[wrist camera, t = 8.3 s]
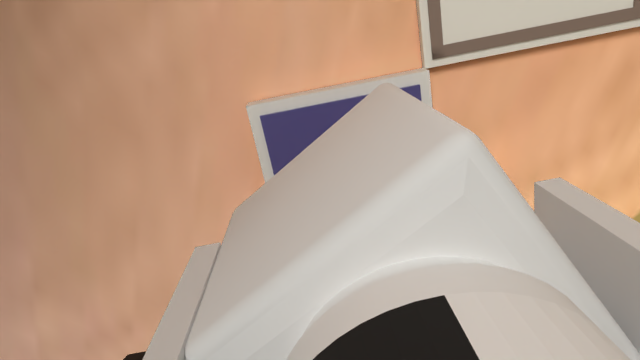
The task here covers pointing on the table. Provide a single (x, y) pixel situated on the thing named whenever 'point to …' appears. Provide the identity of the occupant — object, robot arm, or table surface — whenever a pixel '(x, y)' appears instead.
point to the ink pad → (316, 115)
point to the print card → (512, 25)
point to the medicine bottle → (396, 256)
